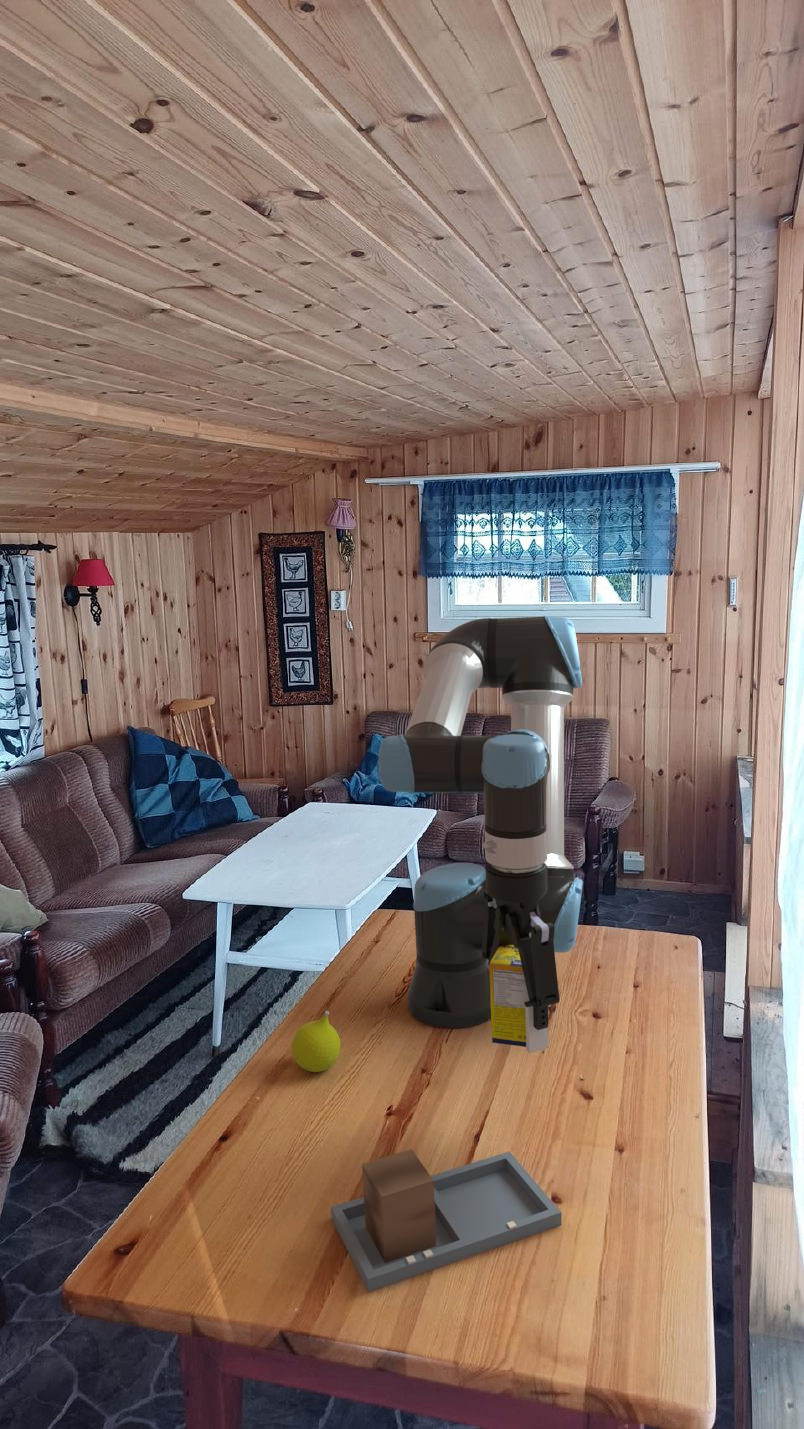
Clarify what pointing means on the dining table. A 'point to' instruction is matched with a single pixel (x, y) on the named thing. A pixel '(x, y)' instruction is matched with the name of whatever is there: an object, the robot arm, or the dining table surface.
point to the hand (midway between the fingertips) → (519, 1032)
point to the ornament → (316, 1045)
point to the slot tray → (456, 1219)
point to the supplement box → (508, 997)
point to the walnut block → (399, 1205)
